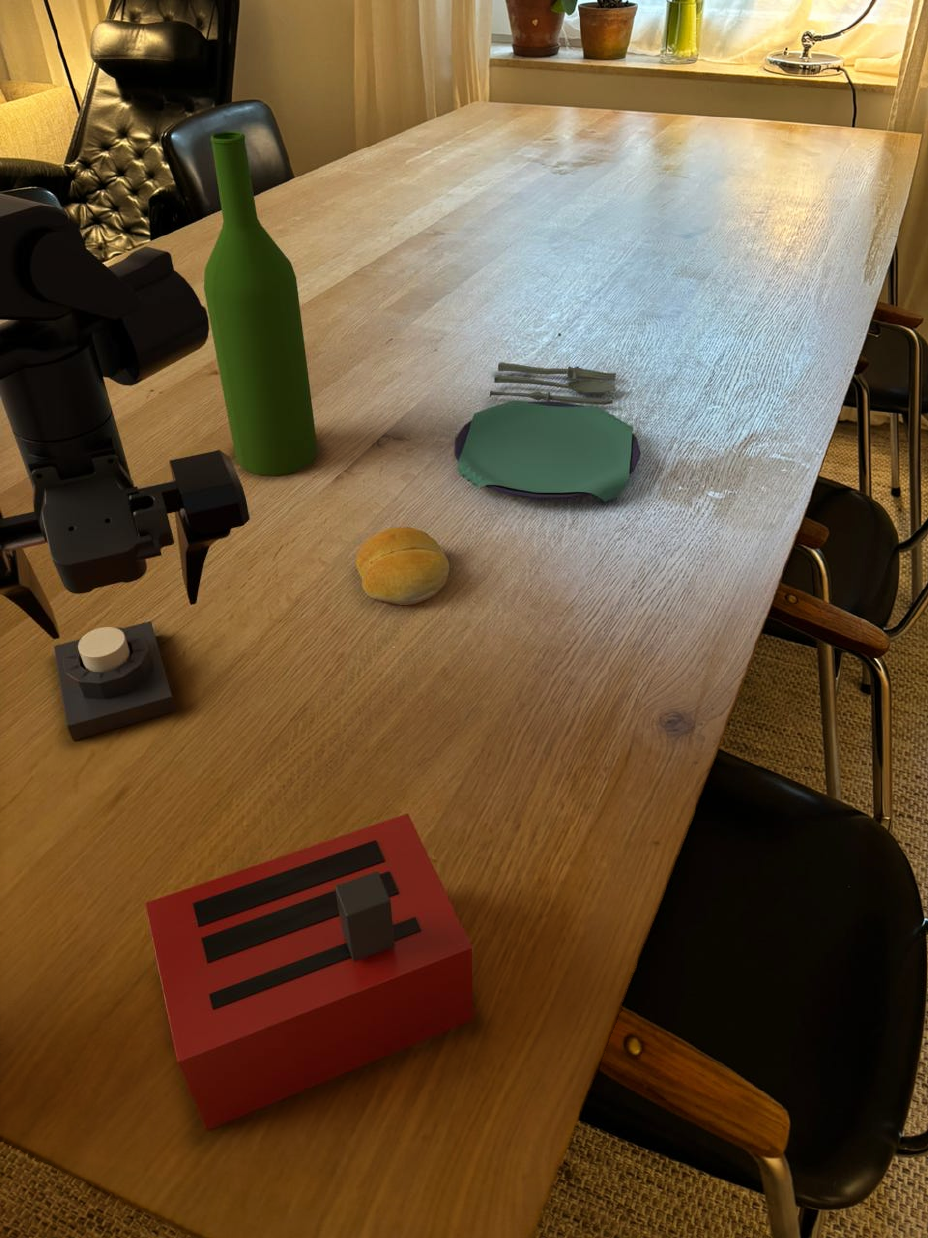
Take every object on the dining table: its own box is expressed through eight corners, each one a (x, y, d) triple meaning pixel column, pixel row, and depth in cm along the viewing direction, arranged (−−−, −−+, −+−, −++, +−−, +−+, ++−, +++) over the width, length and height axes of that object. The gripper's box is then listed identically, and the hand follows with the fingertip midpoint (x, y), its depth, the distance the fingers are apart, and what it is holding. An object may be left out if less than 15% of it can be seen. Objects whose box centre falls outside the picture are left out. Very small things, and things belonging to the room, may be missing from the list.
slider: (353, 963, 53) (346, 916, 50) (342, 932, 54) (334, 885, 52) (395, 947, 54) (390, 900, 51) (383, 917, 55) (377, 870, 52)
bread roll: (370, 616, 88) (366, 581, 85) (352, 557, 94) (348, 523, 92) (460, 600, 89) (459, 564, 87) (436, 543, 96) (435, 509, 93)
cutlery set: (438, 504, 101) (437, 485, 99) (483, 370, 123) (483, 353, 122) (635, 521, 98) (637, 502, 97) (645, 381, 121) (647, 364, 119)
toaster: (206, 1131, 55) (176, 1061, 49) (172, 976, 62) (144, 901, 56) (473, 1020, 59) (472, 946, 54) (413, 888, 66) (407, 811, 61)
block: (72, 741, 77) (60, 709, 74) (59, 660, 84) (47, 629, 81) (176, 711, 79) (167, 679, 77) (155, 635, 86) (146, 604, 84)
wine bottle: (268, 427, 113) (219, 117, 92) (333, 445, 110) (298, 128, 89) (218, 463, 107) (154, 141, 86) (286, 484, 104) (235, 154, 83)
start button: (86, 678, 78) (80, 662, 76) (81, 650, 80) (75, 633, 79) (133, 665, 79) (128, 649, 78) (126, 638, 81) (121, 621, 80)
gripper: (-115, 527, 50) (-13, 736, 60) (248, 450, 55) (285, 655, 66) (-108, 425, 58) (-19, 625, 68) (210, 365, 63) (248, 560, 73)
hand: (125, 617), depth 69 cm, fingers open, 9 cm apart
